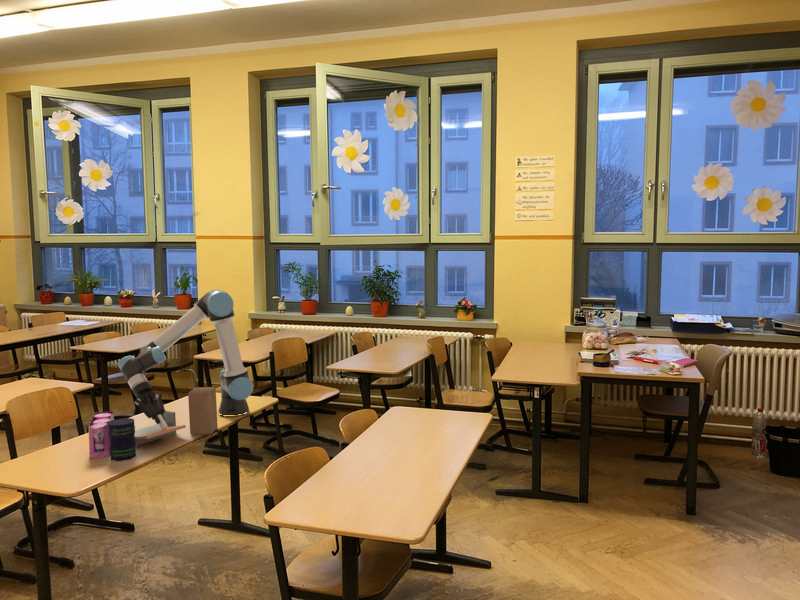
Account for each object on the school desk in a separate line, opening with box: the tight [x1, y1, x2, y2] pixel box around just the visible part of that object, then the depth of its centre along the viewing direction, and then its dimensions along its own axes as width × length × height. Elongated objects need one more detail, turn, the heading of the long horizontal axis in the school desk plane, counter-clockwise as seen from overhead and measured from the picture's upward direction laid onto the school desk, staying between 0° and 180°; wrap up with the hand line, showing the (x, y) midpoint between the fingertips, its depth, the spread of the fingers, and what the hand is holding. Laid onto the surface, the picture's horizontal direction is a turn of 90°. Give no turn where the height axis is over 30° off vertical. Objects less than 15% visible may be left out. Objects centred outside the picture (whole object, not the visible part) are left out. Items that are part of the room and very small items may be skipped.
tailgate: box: [135, 424, 186, 440], centre depth 271 cm, size 19×1×9 cm
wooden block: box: [187, 386, 218, 436], centre depth 284 cm, size 10×10×20 cm
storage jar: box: [108, 417, 137, 462], centre depth 252 cm, size 10×10×15 cm
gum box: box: [87, 410, 115, 459], centre depth 262 cm, size 24×8×14 cm, turn 20°
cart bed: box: [134, 409, 177, 447], centre depth 276 cm, size 22×9×10 cm, turn 146°
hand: (164, 428), depth 269 cm, fingers closed
